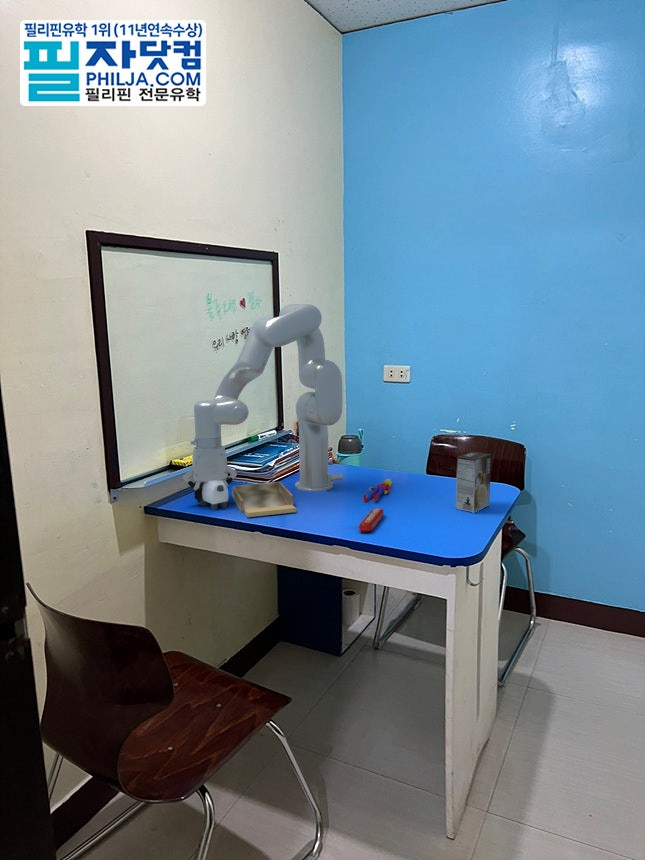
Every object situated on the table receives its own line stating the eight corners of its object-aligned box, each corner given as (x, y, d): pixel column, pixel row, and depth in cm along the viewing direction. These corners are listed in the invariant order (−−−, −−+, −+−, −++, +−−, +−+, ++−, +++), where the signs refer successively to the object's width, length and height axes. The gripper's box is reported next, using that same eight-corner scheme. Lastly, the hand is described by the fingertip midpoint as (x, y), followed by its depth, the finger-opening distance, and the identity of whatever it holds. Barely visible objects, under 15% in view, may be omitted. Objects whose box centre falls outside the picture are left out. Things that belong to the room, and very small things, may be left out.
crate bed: (280, 493, 202) (280, 481, 201) (293, 508, 187) (293, 495, 186) (232, 498, 197) (231, 486, 196) (241, 513, 182) (240, 500, 182)
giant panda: (230, 509, 187) (229, 478, 185) (214, 513, 183) (213, 481, 181) (205, 498, 198) (204, 468, 196) (189, 501, 194) (188, 471, 192)
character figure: (362, 487, 191) (383, 471, 209) (358, 500, 193) (379, 483, 211) (379, 495, 190) (399, 478, 208) (375, 507, 191) (395, 490, 209)
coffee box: (470, 502, 191) (472, 450, 188) (489, 506, 187) (492, 454, 184) (454, 509, 185) (456, 456, 182) (474, 514, 180) (476, 459, 177)
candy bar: (372, 515, 181) (372, 505, 181) (385, 516, 180) (385, 506, 179) (356, 534, 166) (356, 523, 166) (370, 535, 165) (370, 524, 164)
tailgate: (291, 504, 185) (295, 507, 181) (292, 508, 185) (296, 512, 181) (244, 509, 181) (247, 513, 177) (244, 513, 181) (247, 517, 177)
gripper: (179, 447, 180) (182, 507, 184) (240, 443, 185) (242, 501, 189) (177, 442, 187) (180, 499, 191) (235, 438, 192) (237, 494, 196)
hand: (211, 500), depth 190 cm, fingers closed on giant panda, 7 cm apart
